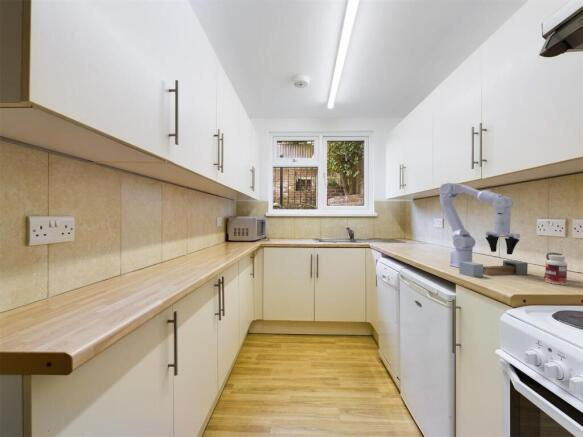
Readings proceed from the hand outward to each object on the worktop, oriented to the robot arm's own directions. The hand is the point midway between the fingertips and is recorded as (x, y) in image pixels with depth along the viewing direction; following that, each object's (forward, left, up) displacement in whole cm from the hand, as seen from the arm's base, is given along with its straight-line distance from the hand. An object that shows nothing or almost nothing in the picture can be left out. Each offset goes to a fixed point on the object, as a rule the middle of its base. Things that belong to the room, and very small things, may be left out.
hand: (501, 253), depth 128 cm
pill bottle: (+19, +5, -10) cm, 21 cm away
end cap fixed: (0, +8, -9) cm, 12 cm away
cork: (+13, +13, -10) cm, 20 cm away
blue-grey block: (0, -16, -9) cm, 19 cm away
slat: (0, -1, -10) cm, 10 cm away
